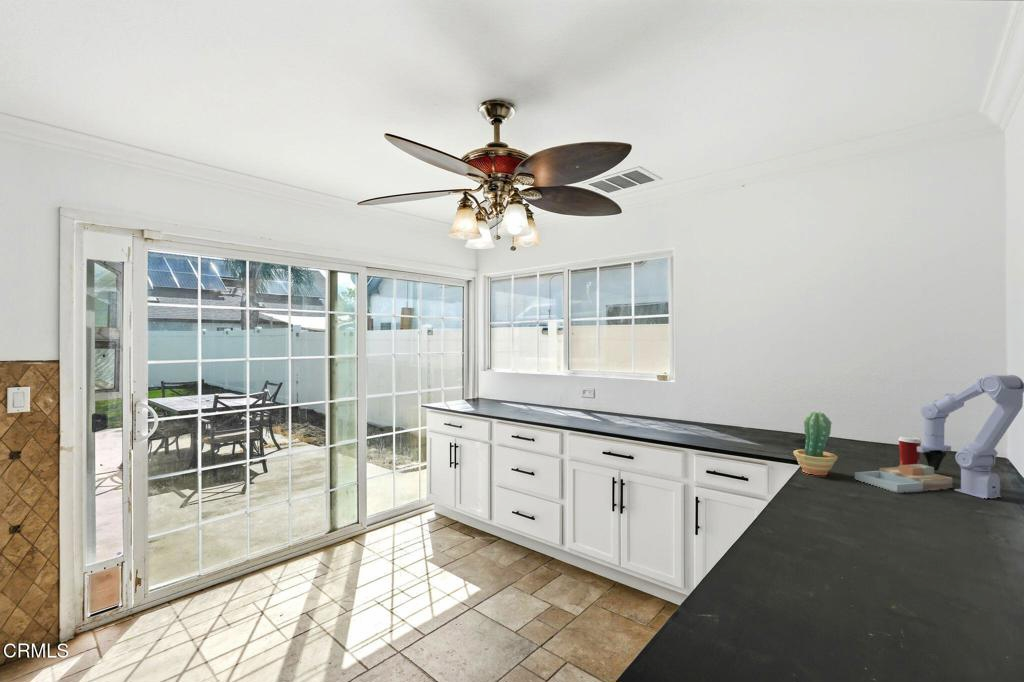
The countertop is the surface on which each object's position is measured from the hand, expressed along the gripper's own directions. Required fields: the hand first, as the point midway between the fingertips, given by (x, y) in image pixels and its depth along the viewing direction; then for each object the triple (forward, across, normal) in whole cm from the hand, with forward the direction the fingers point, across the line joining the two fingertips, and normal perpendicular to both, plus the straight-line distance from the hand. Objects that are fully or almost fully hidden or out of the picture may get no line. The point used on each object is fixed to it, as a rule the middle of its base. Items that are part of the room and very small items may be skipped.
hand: (933, 470), depth 181 cm
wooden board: (+5, +10, 0) cm, 11 cm away
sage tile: (+1, +6, 0) cm, 6 cm away
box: (+5, +23, 0) cm, 23 cm away
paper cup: (+5, -7, -14) cm, 16 cm away
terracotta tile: (+1, +12, 0) cm, 12 cm away
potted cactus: (+5, +36, -19) cm, 41 cm away
